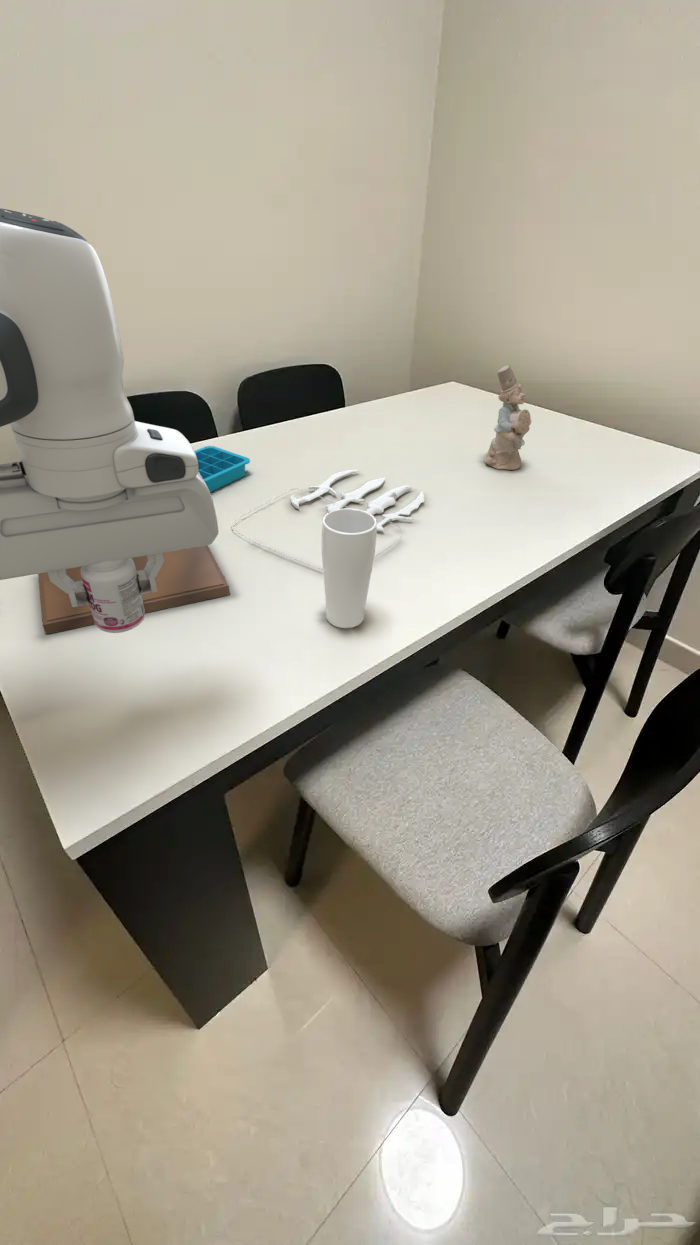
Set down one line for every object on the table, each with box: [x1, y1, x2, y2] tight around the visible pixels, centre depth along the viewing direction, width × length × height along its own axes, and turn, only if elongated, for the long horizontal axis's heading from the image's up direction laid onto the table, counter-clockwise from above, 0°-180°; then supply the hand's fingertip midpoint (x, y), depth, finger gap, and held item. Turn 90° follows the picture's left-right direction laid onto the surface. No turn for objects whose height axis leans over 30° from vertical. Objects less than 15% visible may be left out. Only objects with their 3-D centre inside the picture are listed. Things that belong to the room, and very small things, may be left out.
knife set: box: [230, 469, 425, 571], centre depth 102 cm, size 26×35×1 cm
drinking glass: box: [320, 507, 378, 629], centre depth 75 cm, size 7×7×15 cm
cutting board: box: [37, 545, 231, 635], centre depth 83 cm, size 24×14×2 cm, turn 115°
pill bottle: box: [81, 558, 146, 634], centre depth 55 cm, size 5×5×8 cm
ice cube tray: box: [194, 445, 251, 493], centre depth 110 cm, size 12×20×3 cm, turn 146°
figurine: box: [483, 364, 533, 471], centre depth 119 cm, size 9×8×20 cm
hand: (115, 596), depth 55 cm, fingers closed on pill bottle, 5 cm apart
